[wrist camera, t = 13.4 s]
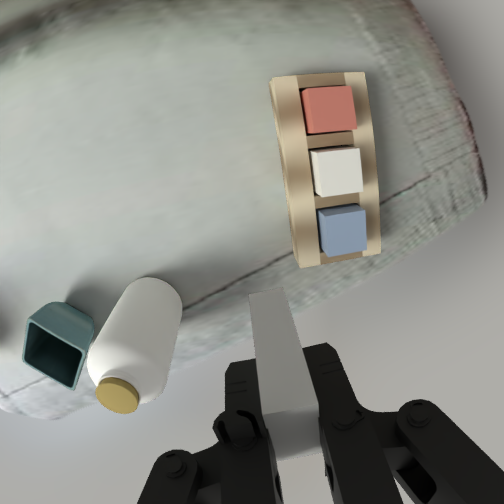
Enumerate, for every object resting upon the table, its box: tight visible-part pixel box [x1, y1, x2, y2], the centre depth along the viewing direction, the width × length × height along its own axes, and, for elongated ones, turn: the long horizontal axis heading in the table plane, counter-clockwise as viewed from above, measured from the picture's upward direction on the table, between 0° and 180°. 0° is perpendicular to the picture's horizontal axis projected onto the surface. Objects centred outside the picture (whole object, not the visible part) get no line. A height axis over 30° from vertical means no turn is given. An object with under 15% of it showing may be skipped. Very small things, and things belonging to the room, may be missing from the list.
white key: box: [308, 146, 363, 197], centre depth 33 cm, size 4×4×5 cm
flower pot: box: [22, 302, 94, 391], centre depth 38 cm, size 9×9×9 cm
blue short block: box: [315, 203, 367, 257], centre depth 35 cm, size 4×4×5 cm
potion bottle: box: [87, 277, 182, 414], centre depth 33 cm, size 8×8×18 cm
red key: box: [299, 86, 357, 133], centre depth 31 cm, size 4×4×5 cm
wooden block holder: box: [269, 72, 381, 268], centre depth 35 cm, size 21×10×4 cm, turn 9°
